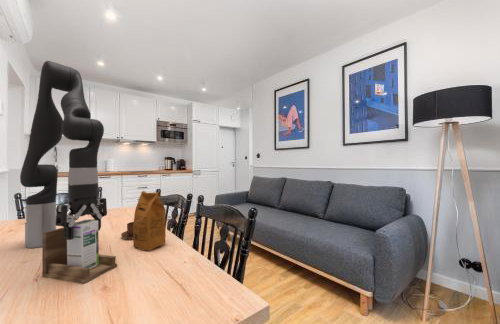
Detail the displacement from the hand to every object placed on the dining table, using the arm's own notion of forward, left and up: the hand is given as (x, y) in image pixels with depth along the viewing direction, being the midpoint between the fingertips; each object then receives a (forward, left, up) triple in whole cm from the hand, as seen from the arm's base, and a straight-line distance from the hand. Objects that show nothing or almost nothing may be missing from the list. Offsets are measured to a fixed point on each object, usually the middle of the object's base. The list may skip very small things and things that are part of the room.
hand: (83, 234), depth 70 cm
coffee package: (+4, +24, -12) cm, 27 cm away
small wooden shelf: (-1, 0, -11) cm, 11 cm away
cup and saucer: (-10, +33, -12) cm, 36 cm away
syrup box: (0, 0, -11) cm, 11 cm away
